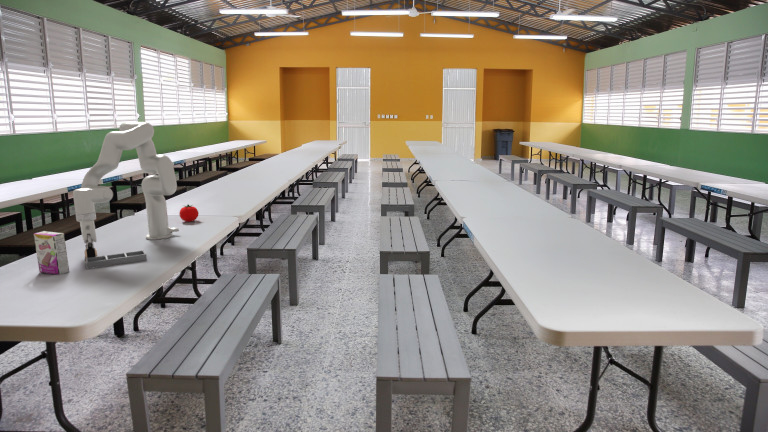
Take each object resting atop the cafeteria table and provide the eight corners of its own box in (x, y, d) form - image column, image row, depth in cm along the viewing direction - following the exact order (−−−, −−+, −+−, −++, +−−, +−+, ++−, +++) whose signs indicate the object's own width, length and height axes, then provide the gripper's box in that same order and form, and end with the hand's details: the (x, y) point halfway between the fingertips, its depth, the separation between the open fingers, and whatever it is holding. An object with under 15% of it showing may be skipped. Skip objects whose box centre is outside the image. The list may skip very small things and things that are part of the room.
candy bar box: (38, 272, 213) (32, 233, 210) (49, 269, 218) (44, 230, 214) (59, 275, 209) (53, 235, 206) (70, 271, 214) (64, 232, 211)
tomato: (195, 223, 301) (193, 206, 299) (177, 223, 301) (175, 206, 299) (201, 219, 311) (200, 203, 309) (184, 219, 311) (182, 203, 309)
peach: (97, 255, 237) (95, 245, 236) (97, 258, 233) (96, 247, 232) (84, 257, 235) (83, 246, 234) (85, 260, 231) (84, 249, 230)
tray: (144, 255, 236) (143, 250, 235) (146, 260, 229) (146, 254, 229) (86, 264, 224) (85, 258, 224) (87, 268, 218) (86, 262, 217)
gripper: (97, 219, 225) (101, 258, 228) (94, 212, 239) (99, 249, 243) (76, 221, 221) (82, 261, 225) (75, 214, 236) (80, 252, 239)
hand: (91, 255), depth 234 cm, fingers open, 7 cm apart
